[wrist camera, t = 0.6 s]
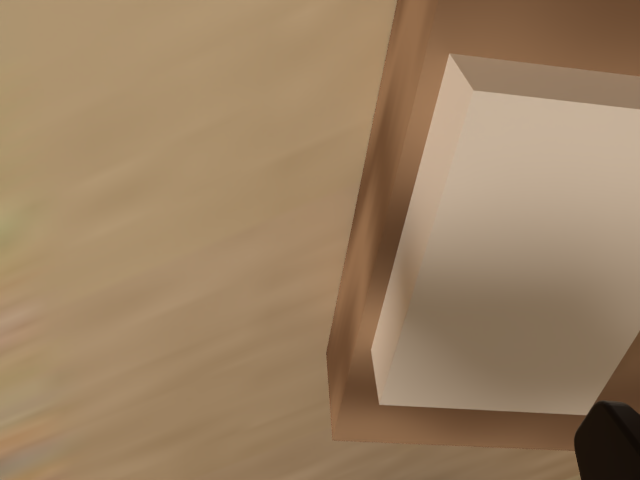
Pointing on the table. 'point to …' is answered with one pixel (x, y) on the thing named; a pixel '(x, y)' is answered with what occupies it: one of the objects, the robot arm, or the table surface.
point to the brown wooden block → (397, 187)
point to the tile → (517, 243)
